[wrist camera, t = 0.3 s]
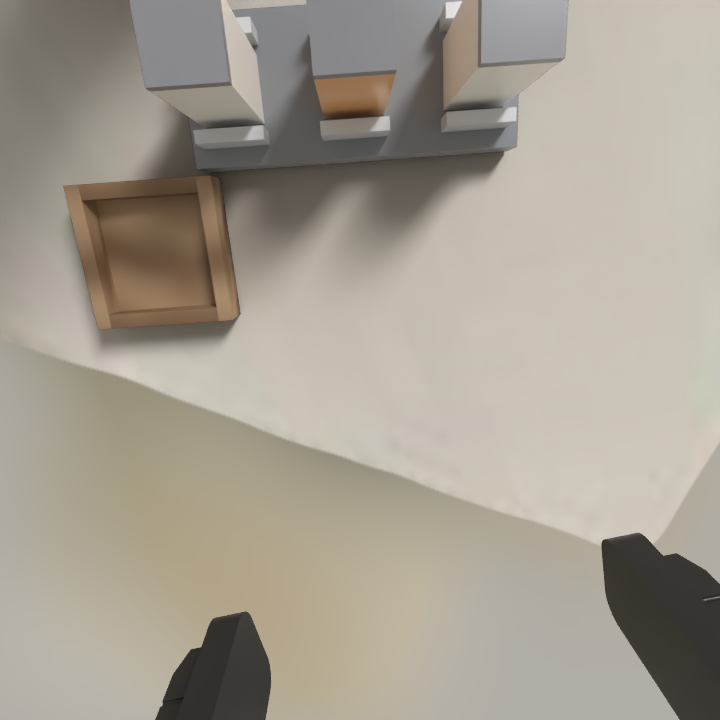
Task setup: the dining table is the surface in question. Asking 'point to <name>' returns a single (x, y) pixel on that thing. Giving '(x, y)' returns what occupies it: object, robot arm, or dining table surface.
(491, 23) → the fuse block
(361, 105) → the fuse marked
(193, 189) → the tray
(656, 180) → the dining table surface
